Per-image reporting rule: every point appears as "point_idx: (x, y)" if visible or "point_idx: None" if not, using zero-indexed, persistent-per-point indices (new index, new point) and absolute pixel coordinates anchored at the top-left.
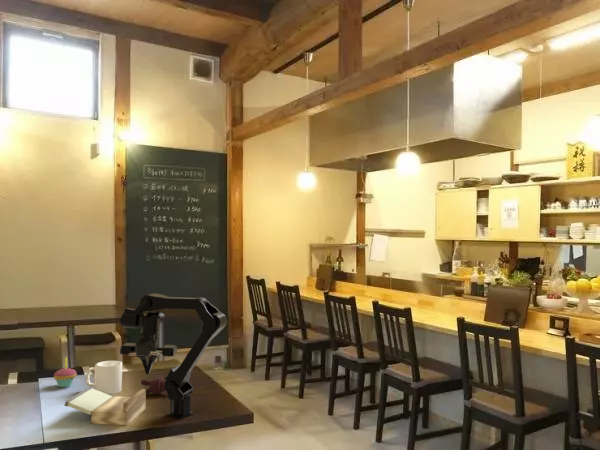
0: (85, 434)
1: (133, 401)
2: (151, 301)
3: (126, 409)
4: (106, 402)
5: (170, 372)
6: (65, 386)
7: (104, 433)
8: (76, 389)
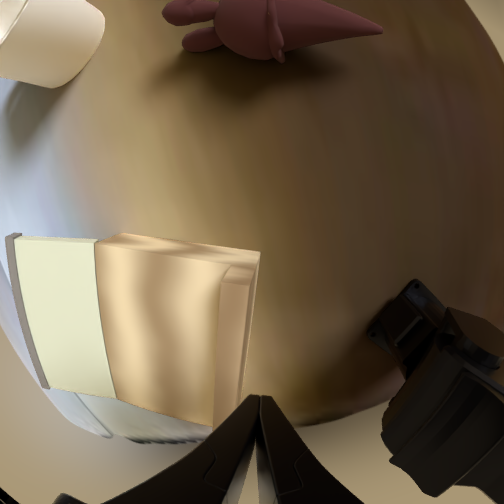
0: (161, 429)
1: None
2: None
3: None
4: (109, 327)
5: (428, 488)
6: None
7: (202, 434)
8: None
